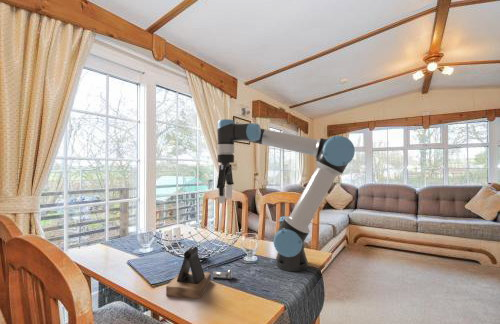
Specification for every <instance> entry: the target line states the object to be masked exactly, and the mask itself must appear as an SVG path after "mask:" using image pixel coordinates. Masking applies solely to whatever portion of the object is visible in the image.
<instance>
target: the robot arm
mask: <svg viewBox="0 0 500 324" xmlns="http://www.w3.org/2000/svg"><path fill="white" fill-rule="evenodd" d="M216 131H217V146H216V150H217V157H216V158H217V159H216V160H217V163H219V166H218V167H219V168H218V174H217V175H218V178H217V184H216V188H217V189H218V204H226V199H233V185H234V184H235V183H234V179H233V170H232V163H234V162H235V155H234V153H235V141H237V142H239V141H240V142H241V141H242V142H243V141H245V142H250V143H253V144H258V145H263V146H267V147H273V148H277V149H282V150H286V151H291V152H295V153H300V154H303V155H304V154H305V155H309V156H313V157H314V158H315V159H316V160H315V164H316V168H315V169H314V171H313V173H312V175H311V177H310V178H309V180H308V182H307V184H306V186H305V187H304V189H303V191H302V193H301V194H300V196H299V198H298V200H297V202H296V204H295V206H294V207H293V210H291V213H290V214H289V215H288V216H287V215H286V216H285V215H284V216H280V217H279V221H278V223H279V225H278V226H279V228H278V229H277V232H275V234H274V236H273V246H274V249H275V250H276V252H277V254H276V258H275V266H276V267H277V268H278V269H280V270H283V271H286V272H302V271H304V270H306V269H307V268H308V266H309V264H308V258H307V255H306V251H305V241H306V240H307V237H308V236H309V234H310V229H309V226H310V225H311V222H312V221H313V219H314V217H315V215H316V213H317V212H318V210H319V208H320V206H321V204H322V202H323V201H324V200H325V199H324V198H325V197H326V195H327V194H328V192H329V190H330V188H331V186H332V185H333V183H334V181H335V179H336V178H337V177H339V176H342V175H343V174H344V171H345V170H346V168H347V167H348V164H349V163H350V162H351V161H352V160H353V159H354V157H355V153H356V150H355V145H354V143H353V142H352V140H350V139H349V138H348V137H345V136H343V135H334V136H331V137H329V138H324V137H323V138H322V137H319V138H318V139H315V138H310V137H305V136H301V135H295V134H290V133H285V132H279V131H275V130H270V129H265V128H261V126H260V124H259V123H252V122H250V123H235V121H234V120H233V119H225V118H224V119H223V118H222V119H219V120H218V121H217V130H216Z"/></svg>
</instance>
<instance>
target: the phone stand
mask: <svg viewBox="0 0 500 324" xmlns="http://www.w3.org/2000/svg"><path fill="white" fill-rule="evenodd" d="M183 256H184V257H183V262H182V265H181V267H180V270H179V272H180V273H179V272H178V273H179V276H178V279H177V282H184V283H187V282H188V283H192V284H199V282H200V281H201V280H202V279H203V278H204V277H205V275H204V269H203V266H202V263H201V260H200V257H199V249H198V247H197V246H194V245H193V246H191V247H190V248H189V249H187V250H186V251H184V253H183ZM189 271H191V272H192V275H191V274H189Z"/></svg>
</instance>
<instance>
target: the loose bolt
mask: <svg viewBox="0 0 500 324" xmlns="http://www.w3.org/2000/svg"><path fill="white" fill-rule="evenodd" d="M211 278H214V279H226V280H232V278H233V269H232V268H229V269H227V272H226V271H224V272H223V271H212V274H211Z"/></svg>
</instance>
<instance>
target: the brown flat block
mask: <svg viewBox="0 0 500 324" xmlns="http://www.w3.org/2000/svg"><path fill="white" fill-rule="evenodd" d="M203 272H204V271H203ZM179 273H180V271H179V272H178V273H177V274H176V275H175V277H173V278H172V279H171V280H170V281H169V283H167V285H166V286H165V294H166V297H176V298H189V299H200V298H202V296H203V294H204V293H205V291H206V290H207V288H208V287H209V284H210V283H211V278H212V274H211V272H204V275H205V277H204V278H203V279H202V280H201V281H200V282H199V284H192V283H188V282H187V283H184V282H177V279H178V276H179ZM189 274H191V275H192V272H191V270H189Z"/></svg>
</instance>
